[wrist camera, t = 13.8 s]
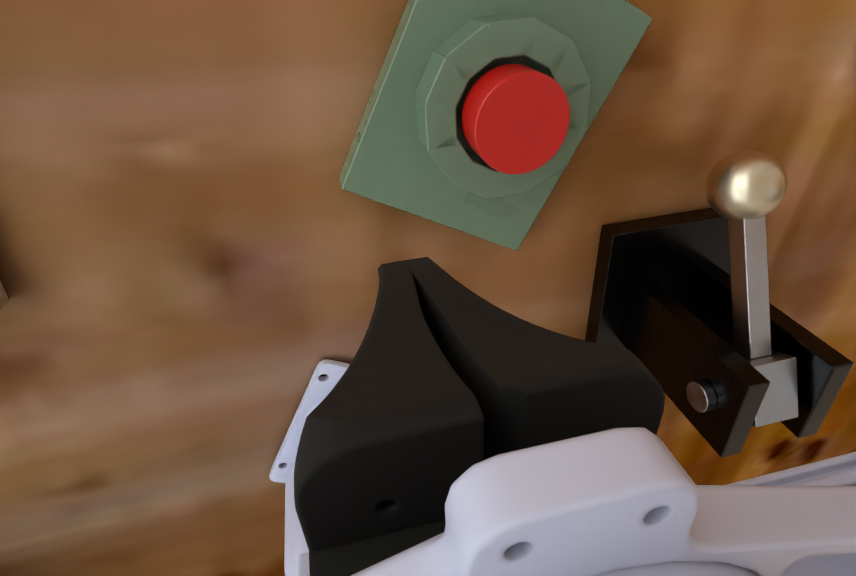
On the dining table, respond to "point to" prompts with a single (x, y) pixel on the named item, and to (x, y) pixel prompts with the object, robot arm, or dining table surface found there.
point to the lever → (754, 271)
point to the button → (515, 118)
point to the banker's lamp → (3, 296)
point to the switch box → (446, 92)
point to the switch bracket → (699, 327)
